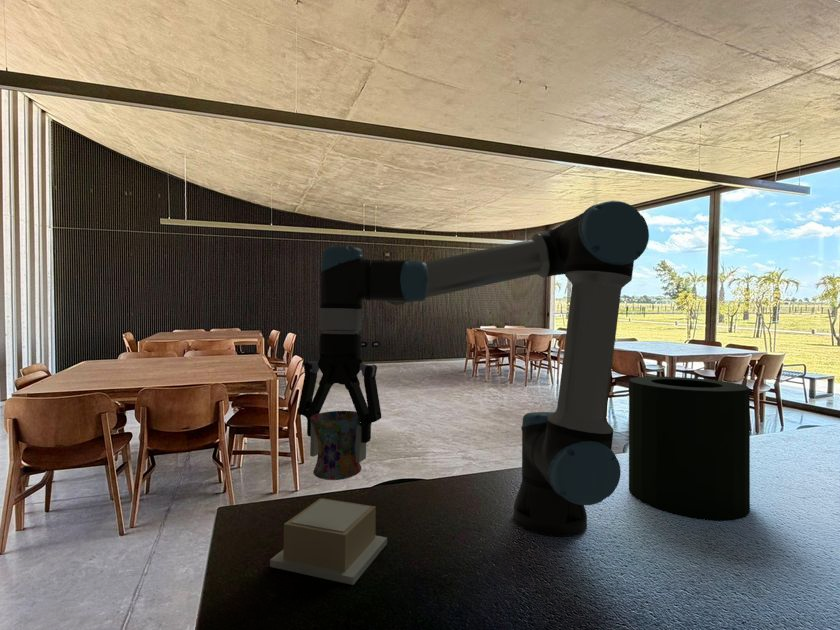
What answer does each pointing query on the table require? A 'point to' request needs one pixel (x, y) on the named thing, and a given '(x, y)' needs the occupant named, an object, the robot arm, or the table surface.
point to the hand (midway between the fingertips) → (337, 457)
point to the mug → (336, 444)
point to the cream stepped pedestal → (330, 541)
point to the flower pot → (690, 446)
